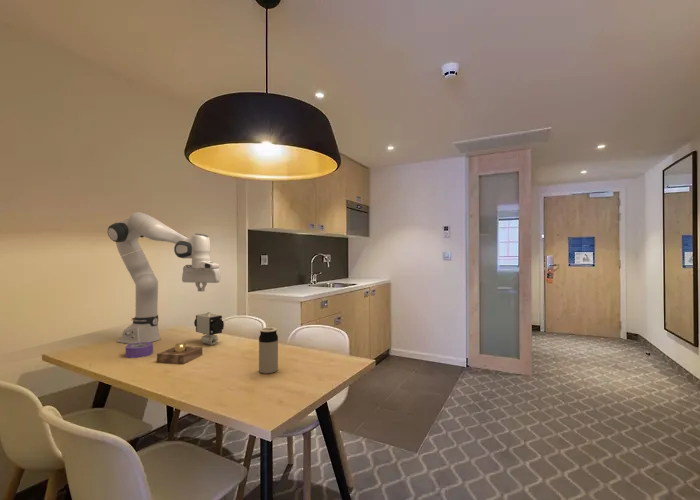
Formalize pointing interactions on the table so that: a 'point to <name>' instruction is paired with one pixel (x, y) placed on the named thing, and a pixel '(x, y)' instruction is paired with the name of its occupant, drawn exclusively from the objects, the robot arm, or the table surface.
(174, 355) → the block
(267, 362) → the travel mug
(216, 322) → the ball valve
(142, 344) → the tape roll
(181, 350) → the cylinder
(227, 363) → the table surface
